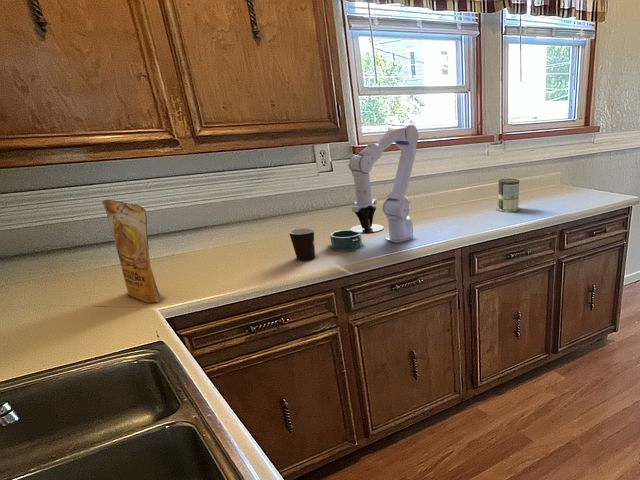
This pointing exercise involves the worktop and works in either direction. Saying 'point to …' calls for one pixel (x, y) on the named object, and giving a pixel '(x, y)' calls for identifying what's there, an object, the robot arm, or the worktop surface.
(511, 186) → the coffee can
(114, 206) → the pancake mix bag
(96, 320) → the worktop surface
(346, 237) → the pot
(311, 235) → the coffee mug
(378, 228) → the lid
